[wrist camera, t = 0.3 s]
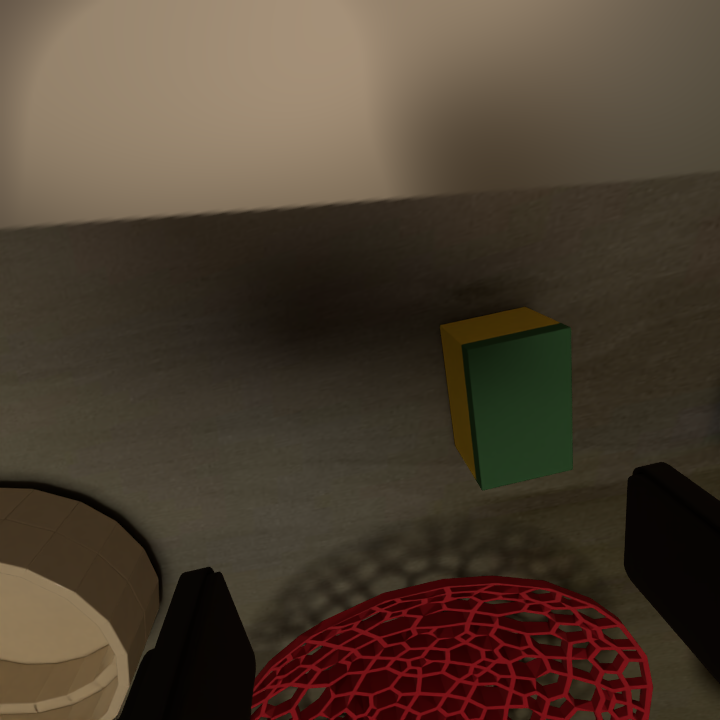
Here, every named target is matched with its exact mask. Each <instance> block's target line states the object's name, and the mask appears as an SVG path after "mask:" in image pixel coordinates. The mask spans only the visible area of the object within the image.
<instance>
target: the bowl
mask: <svg viewBox="0 0 720 720" xmlns="http://www.w3.org/2000/svg"><path fill="white" fill-rule="evenodd" d="M538 589H543V590H547V591H551V593H545V594H535V593H532V592H531V591H534V590H538ZM562 595H563V596H566V597H568V598H571V599H572V600H567V599H565V598H563V597H562ZM460 598H470V599H469V600H468V601H466V600H456V599H460ZM498 599H502V600H512V601H517V602H510V603H501V604H487V603H483V602H488V601H493V600H498ZM583 608H594V609H596V610H597V611H598V612H600V613H601V614H603V615H604V616H606V617H607V618H600V619H592V618H590V617H588V616H586V615H584V614H582V613H580V612H578V611H577V610H576V609H583ZM557 609H570V610H571V611H572V612H573V613H574V614H573V615H562V614H553V613H552V612H550V611H551V610H557ZM444 610H448V611H449V612H440V611H444ZM378 612H380V613H378ZM437 612H439V613H437ZM520 612H529V613H536V614H543V615H545V616H546V617H548V618H549V619H548V622H521V621H517V620H514V619H510V618H507V617H504V616H505V615H510V614H515V613H520ZM375 613H378V614H376V615H374V616H372V617H370V618H369V619H367V620H365V621H361V620H363V619H365V618H367V617H369V616H371V615H373V614H375ZM402 616H404V617H402ZM398 617H401V618H398ZM394 618H398V619H395V620H392V621H389V622H385V621H386V620H390V619H394ZM383 622H385V623H383ZM381 623H382V624H381ZM559 625H574V626H580V627H581V628H582V631H576V632H567V633H565V632H564V631H562V630H560V629H559V628H558V627H559ZM614 627H619V628H620V629H621V630H622V631H623V633H624V634H625V635H626V636H627V637H628V639H611V638H609V637H608V636H606V635H605V634H603V633H602V629H607V628H614ZM499 628H500V629H499ZM502 629H504V630H502ZM325 630H326V631H325ZM505 630H508V631H512V632H515V633H518V634H515V633H512V632H508V631H505ZM323 631H325V632H323ZM322 632H323V633H322ZM340 633H342V634H340ZM337 634H340V635H338V636H336V635H337ZM546 634H552V635H554V636H556V637H558V638H560V639H562V641H561V647H560V646H552V645H545V644H539V643H537V642H536V641H535V640H534V639H533V638H532V637H530V635H546ZM583 642H590V643H589V644H588V646H587V647H586V648H573V644H577V643H583ZM304 643H307V644H306V645H305V646H302V645H303V644H304ZM320 645H322V646H323V647H322V648H321V649H319V650H318V651H317V652H315V653H314V654H313V655H306V654H308V653H309V652H311V651H312V650H314V649H315V648H317V647H319V646H320ZM300 646H302V647H300ZM336 649H337V650H336ZM628 649H636V651H623V650H628ZM335 650H336V651H335ZM601 650H616V651H617V652H618V655H617V656H616V658H615V659H614V661H613V663H599V662H598V661H597V660H596V659H595V656H596V655H597V654H598V653H599V652H600V651H601ZM525 657H532V658H537V659H534V660H532V661H529V662H527V663H523V662H519V661H518V660H520V659H522V658H525ZM293 659H294V660H293ZM552 659H562V663H560V662H557V661H555V660H552ZM578 659H588V660H589V661H590V662H591V663H592V664H593V667H592V669H591V672H590V673H589V672H586V671H583V670H580V669H577V668H574V667H572V660H578ZM291 660H293V661H291ZM290 661H291V662H290ZM289 662H290V663H289ZM629 662H639V665H640V670H641V675H642V677H635V678H624V676H623V674H622V672H623V671H624V669H625V668H626V666H627V664H628V663H629ZM287 663H288V664H287ZM336 663H337V664H336ZM286 664H287V665H286ZM335 664H336V665H335ZM333 665H335V666H333ZM283 666H284V667H283ZM331 666H333V667H332V668H330V669H329V670H325V669H327V668H329V667H331ZM310 669H311V670H310ZM309 670H310V671H309ZM323 670H325V671H323ZM271 671H273V672H272V673H270V672H271ZM307 671H309V672H308V673H307V674H305V673H306V672H307ZM550 672H552V673H555V674H559V678H558V682H557V683H553V684H549V685H545V686H542V685H540V684H539V683H538V682H537V681H536V678H538V677H540V676H543V675H545V674H547V673H550ZM269 673H270V674H269ZM604 673H610V674H617V675H618V677H619V679H617V680H611V681H607V680H605V679H603V675H604ZM268 674H269V675H268ZM267 675H268V676H267ZM572 679H576V680H580V681H583V682H587V683H590V684H594V685H595V686H596V689H595V692H594V695H593V697H592V700H591V701H588V700H580V699H574V698H573V697H572V696H571V695H570V693H569V688H570V685H571V682H572ZM484 685H496V686H498V687H486V686H484ZM289 686H293V687H298V689H297V690H296V692H295V693H294V695H293V697H292V698H291V699H289V700H287V701H285V702H283V703H281V704H279V705H277V706H273V705H270V704H267V703H268V700H269V699H270V698H272V697H273V696H275V695H276V694H278V693H279V692H281V691H283V690H284V689H286V688H287V687H289ZM321 687H327V688H326V689H325V691H324V692H323V693H322V695H321V696H320V698H319V699H318V700H316V701H315V702H314V703H312V704H311V705H309V706H308V707H307V708H305V709H304V710H303V711H301V712H300V709H299V707H298V703H299V702H300V700H301V699H302V698H303V696H304V695H305V693H306V692H307V690H308V689H309V688H321ZM601 687H602V688H604V689H606V690H603V689H602V688H601ZM265 689H266V690H265ZM631 689H641V691H640V701H636V700H632V696H631ZM263 690H265V691H263ZM262 691H263V692H262ZM620 691H622V694H619V693H616V692H620ZM652 691H653V684H652V679H651V674H650V669H649V664H648V659H647V656H646V654H645V653H644V652H643V650H642V649H641V647H640V646H639V645H638V643H637V642H636V641H635V639H634V638H633V637H632V636H631V634H630V633H629V632H628V630H627V629H626V628H625V626H624V625H623V624H622V622H621V621H620V620H619V618H618V617H616V616H615V615H614V614H612V613H611V612H609V611H608V610H607V609H605V608H604V607H602V606H601V605H600V604H598V603H597V602H595V601H594V600H593V599H591V598H589V597H586V596H583V595H581V594H578V593H575V592H573V591H570V590H568V589H565V588H562V587H560V586H557V585H554V584H552V583H549V582H546V581H543V580H532V579H522V578H512V577H502V576H478V577H465V578H451V579H441V580H437V581H433V582H429V583H424V584H420V585H416V586H411V587H407V588H403V589H398V590H394V591H390V592H386V593H382V594H380V595H378V596H376V597H374V598H372V599H369V600H367V601H365V602H363V603H361V604H358V605H356V606H354V607H352V608H350V609H348V610H345V611H343V612H341V613H339V614H337V615H335V616H332V617H330V618H328V619H326V620H324V621H322V622H321V623H319V624H318V625H316V626H314V627H313V628H311V629H309V630H308V631H306V632H305V633H303V634H301V635H300V636H298V637H297V638H296V639H295V640H294V641H293V642H291V643H290V644H289V645H288V646H287V647H285V648H284V649H283V650H282V651H281V652H279V653H278V654H277V655H276V656H275V657H273V658H272V659H271V660H270V661H269V662H268V663H267V664H266V666H265V667H264V668H263V669H262V671H261V672H260V673H259V674H258V675H257V677H256V678H255V682H254V690H253V699H252V707H251V709H252V708H254V707H256V706H258V705H259V704H261V703H263V704H262V705H261V706H260V707H259V708H258V709H257V710H256V711H255V712H254V713H253V714H252V715H251V716H250V720H258V719H259V718H260V717H267V718H268V719H267V720H275V719H276V718H278V717H280V716H283V715H285V714H287V713H290V712H291V715H292V718H291V719H289V720H313V719H315V718H317V717H318V716H323V717H326V718H329V719H328V720H512V719H511V718H510V717H508V710H509V708H529V709H531V710H532V711H533V713H532V716H531V719H530V720H545V718H546V719H552V720H569V719H570V718H571V717H572V716H573V715H574V714H575V713H576V711H577V710H581V711H593V712H594V714H595V717H596V720H603V718H602V715H601V713H602V712H607V711H608V712H609V713H610V714H611V720H628V719H632V720H648V719H649V713H650V705H651V698H652ZM260 692H261V693H260ZM258 693H259V694H258ZM534 694H537V695H538V696H537V699H536V700H535V699H533V698H532V697H530V696H531V695H534ZM354 695H356V696H354ZM563 697H565V698H566V699H567V700H566V701H565V702H564V704H563V705H562V706H561V707H560V708H557V707H553V706H550V702H551V701H554V700H557V699H560V698H563ZM616 703H619V704H624V705H625V706H623V707H621V708H618V709H615V710H614V706H615V704H616ZM633 708H635V709H637V711H636V714H635V713H633ZM344 712H346V713H347V715H346V716H345V717H344V718H342V717H338V716H339V715H341V714H342V713H344Z"/></svg>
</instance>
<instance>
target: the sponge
mask: <svg viewBox="0 0 720 720" xmlns="http://www.w3.org/2000/svg"><path fill="white" fill-rule="evenodd" d="M440 332H441V339H442V347H443V355H444V363H445V371H446V379H447V386H448V394H449V402H450V410H451V418H452V426H453V433H454V441H455V446H456V448H457V450H458V451H459V453H460V455H461V456H462V458H463V460H464V461H465V463H466V464H467V466H468V468H469V469H470V471H471V473H472V474H473V476H474V478H475V479H476V481H477V483H478V484H479V486H480V488H481V489H482V490H487V489H491V488H496V487H500V486H504V485H509V484H513V483H517V482H521V481H526V480H530V479H534V478H539V477H543V476H547V475H551V474H556V473H560V472H564V471H569V470H572V469H573V448H572V368H571V327H569V326H566V325H564V324H562V323H559V322H557V321H555V320H553V319H551V318H549V317H546V316H544V315H542V314H540V313H538V312H535V311H533V310H531V309H529V308H527V307H522V308H517V309H512V310H508V311H503V312H499V313H494V314H489V315H485V316H480V317H476V318H471V319H466V320H462V321H457V322H453V323H448V324H443V325H440Z"/></svg>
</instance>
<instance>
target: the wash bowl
mask: <svg viewBox="0 0 720 720" xmlns="http://www.w3.org/2000/svg"><path fill="white" fill-rule="evenodd" d="M158 610H159V582H158V576H157V574H156V572H155V570H154V568H153V566H152V564H151V562H150V560H149V558H148V556H147V553H146V551H145V550H144V548H143V547H142V546H141V545H140V544H139V543H138V542H137V541H136V540H135V539H134V538H133V537H132V536H131V535H130V534H129V533H128V532H127V531H126V530H125V529H124V528H123V527H122V526H121V525H120V524H119V523H117V522H116V521H115V520H113V519H111V518H109V517H107V516H106V515H104V514H102V513H100V512H98V511H97V510H95V509H93V508H91V507H89V506H88V505H86V504H84V503H82V502H79V501H76V500H73V499H69V498H65V497H61V496H58V495H54V494H50V493H47V492H43V491H39V490H34V489H23V488H0V720H113V719H114V718H115V717H116V716H117V714H118V713H119V711H120V708H121V706H122V703H123V701H124V699H125V696H126V694H127V692H128V689H129V687H130V684H131V682H132V679H133V676H134V674H135V671H136V668H137V666H138V663H139V660H140V658H141V655H142V652H143V650H144V647H145V645H146V642H147V639H148V637H149V634H150V631H151V629H152V626H153V623H154V621H155V618H156V615H157V613H158Z"/></svg>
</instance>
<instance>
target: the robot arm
mask: <svg viewBox="0 0 720 720" xmlns="http://www.w3.org/2000/svg"><path fill="white" fill-rule="evenodd" d="M624 567H625V570H626V573H627V575H628V577H629V578H630V580H631V581H632V582H633V584H634V585H635V586H636V587H637V588H638V589H639V591H640V592H641V593H642V594H643V595H644V596H645V598H646V599H647V600H648V601H649V602H650V603H651V604H652V606H653V607H654V608H655V609H656V610H657V611H658V613H659V614H660V615H661V616H662V617H663V618H664V620H665V621H666V622H667V623H668V624H669V625H670V627H671V628H672V629H673V630H674V631H675V632H676V634H677V635H678V636H679V637H680V638H681V639H682V640H683V642H684V643H685V644H686V645H687V646H688V647H689V649H690V650H691V651H692V652H693V653H694V654H695V656H696V657H697V658H698V659H699V660H700V661H701V663H702V664H703V665H704V666H705V667H706V668H707V670H708V671H709V672H710V673H711V674H712V675H713V676H714V678H715V679H716V680H717V681H718V682H719V683H720V501H719V500H718V499H716V498H715V497H713V496H712V495H711V494H709V493H708V492H706V491H705V490H704V489H702V488H701V487H699V486H698V485H697V484H695V483H694V482H692V481H691V480H690V479H688V478H687V477H685V476H684V475H683V474H681V473H680V472H678V471H677V470H676V469H674V468H673V467H671V466H670V465H668V464H666V463H664V462H659V463H654V464H650V465H646V466H642V467H638V468H635V469H634V471H633V475H632V476H630V477H629V478H628V486H627V508H626V529H625V551H624ZM255 673H256V662H255V655H254V652H253V649H252V647H251V644H250V642H249V640H248V637H247V635H246V632H245V630H244V627H243V625H242V622H241V620H240V617H239V615H238V612H237V610H236V607H235V605H234V602H233V600H232V597H231V595H230V592H229V590H228V587H227V585H226V582H225V580H224V577H223V575H222V573H221V572H216V573H214V571H213V569H212V568H211V567H206V568H202V569H197V570H193V571H189V572H185V573H183V574H182V575H181V576H180V578H179V581H178V584H177V586H176V589H175V592H174V595H173V598H172V600H171V603H170V606H169V609H168V612H167V615H166V617H165V620H164V623H163V626H162V629H161V631H160V634H159V637H158V640H157V643H156V646H155V648H154V649H152V650H149V651H148V652H147V653H146V655H145V656H144V657H143V659H142V661H141V664H140V666H139V668H138V671H137V674H136V676H135V679H134V682H133V684H132V687H131V690H130V692H129V695H128V698H127V700H126V703H125V706H124V708H123V711H122V714H121V717H120V719H119V720H250V716H251V707H252V699H253V690H254V682H255Z"/></svg>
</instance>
